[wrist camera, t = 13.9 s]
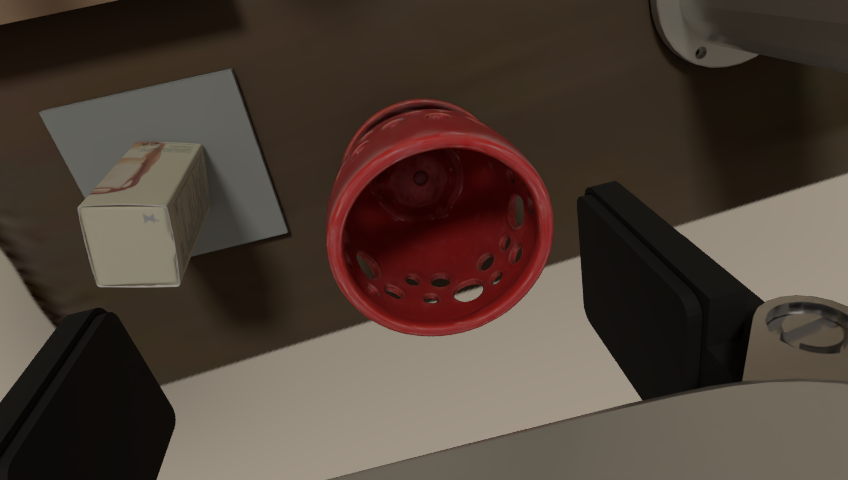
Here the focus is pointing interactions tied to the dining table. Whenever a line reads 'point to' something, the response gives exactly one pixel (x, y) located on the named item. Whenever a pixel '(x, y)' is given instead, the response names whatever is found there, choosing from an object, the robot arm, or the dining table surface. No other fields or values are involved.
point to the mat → (184, 123)
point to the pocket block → (39, 8)
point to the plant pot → (435, 219)
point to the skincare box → (147, 215)
